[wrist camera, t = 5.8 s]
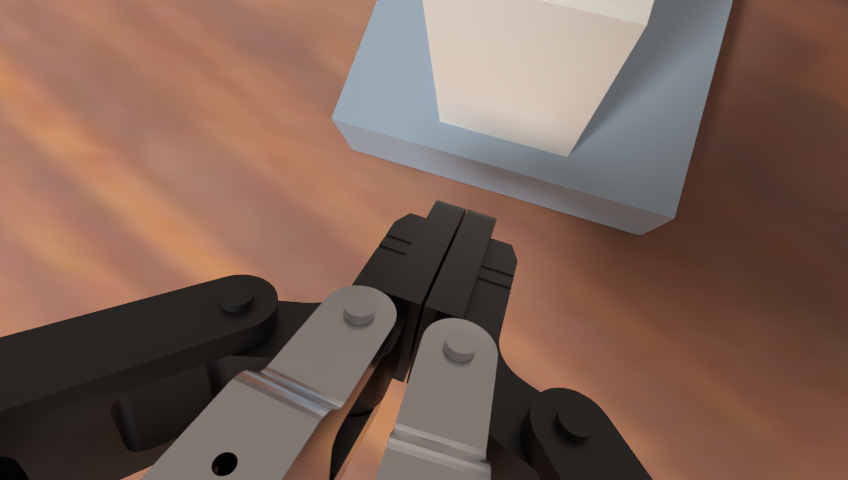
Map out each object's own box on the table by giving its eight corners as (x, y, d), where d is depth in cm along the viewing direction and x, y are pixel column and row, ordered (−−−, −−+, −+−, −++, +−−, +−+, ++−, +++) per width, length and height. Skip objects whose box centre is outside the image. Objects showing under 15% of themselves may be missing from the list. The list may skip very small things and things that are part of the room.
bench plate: (352, 149, 19) (331, 118, 16) (456, -127, 21) (454, -199, 18) (640, 235, 18) (674, 218, 15) (725, -74, 20) (771, -144, 17)
